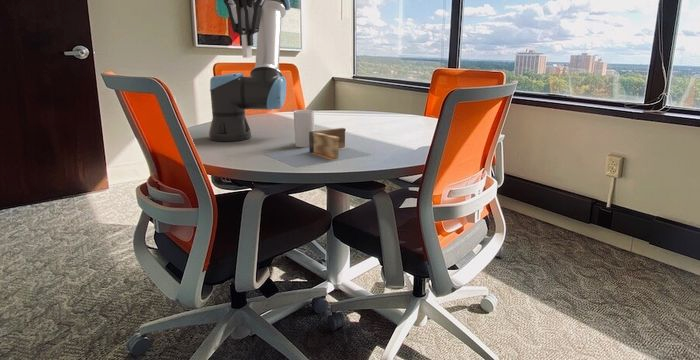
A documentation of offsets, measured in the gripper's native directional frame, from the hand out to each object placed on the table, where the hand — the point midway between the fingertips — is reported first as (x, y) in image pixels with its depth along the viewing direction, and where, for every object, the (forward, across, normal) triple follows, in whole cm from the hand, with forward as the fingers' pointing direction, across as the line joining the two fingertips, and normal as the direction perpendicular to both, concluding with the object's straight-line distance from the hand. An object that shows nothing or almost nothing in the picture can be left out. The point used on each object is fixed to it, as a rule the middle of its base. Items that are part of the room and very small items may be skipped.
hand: (247, 57), depth 139 cm
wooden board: (+29, +24, +3) cm, 38 cm away
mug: (+30, +10, +16) cm, 35 cm away
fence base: (+29, +21, +11) cm, 37 cm away
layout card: (+29, +21, +4) cm, 36 cm away
